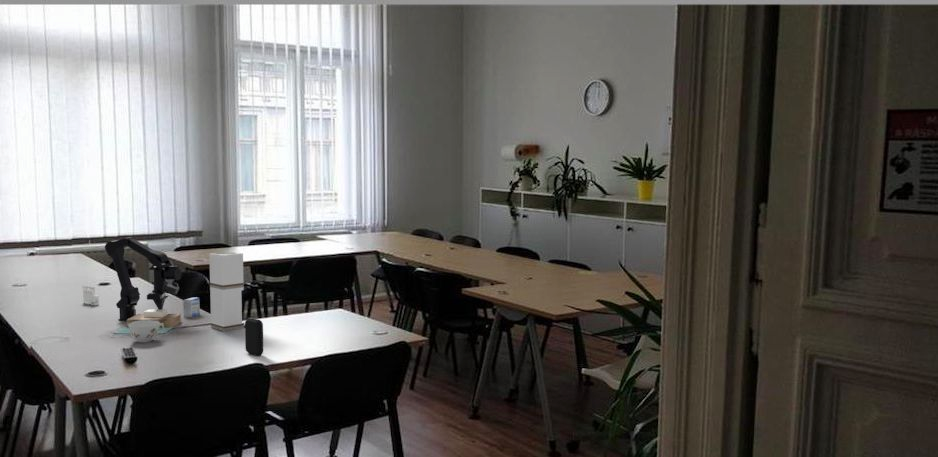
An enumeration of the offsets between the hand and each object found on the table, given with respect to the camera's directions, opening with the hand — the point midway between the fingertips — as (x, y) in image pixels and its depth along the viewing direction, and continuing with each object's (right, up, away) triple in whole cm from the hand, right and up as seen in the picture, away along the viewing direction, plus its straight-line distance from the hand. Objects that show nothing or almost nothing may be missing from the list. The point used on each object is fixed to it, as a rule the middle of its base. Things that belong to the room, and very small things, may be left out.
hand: (160, 311), depth 382 cm
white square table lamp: (+36, -7, -12) cm, 39 cm away
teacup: (+10, -9, -40) cm, 42 cm away
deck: (0, -6, -8) cm, 10 cm away
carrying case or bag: (+62, -11, -63) cm, 89 cm away
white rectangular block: (0, -2, -6) cm, 6 cm away
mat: (0, -7, -21) cm, 22 cm away
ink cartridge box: (-55, -1, +44) cm, 70 cm away
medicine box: (+10, -4, +15) cm, 19 cm away
